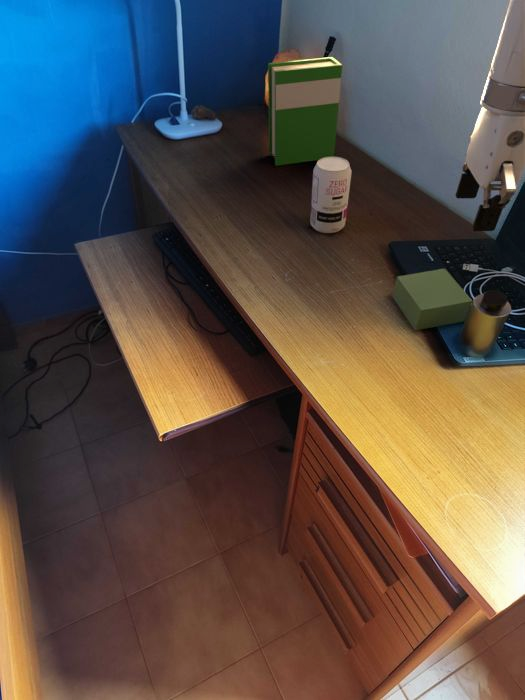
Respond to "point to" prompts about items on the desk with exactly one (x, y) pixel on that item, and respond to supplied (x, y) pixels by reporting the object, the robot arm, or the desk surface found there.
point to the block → (431, 299)
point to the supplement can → (330, 194)
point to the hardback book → (303, 109)
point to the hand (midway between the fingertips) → (473, 213)
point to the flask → (484, 324)
